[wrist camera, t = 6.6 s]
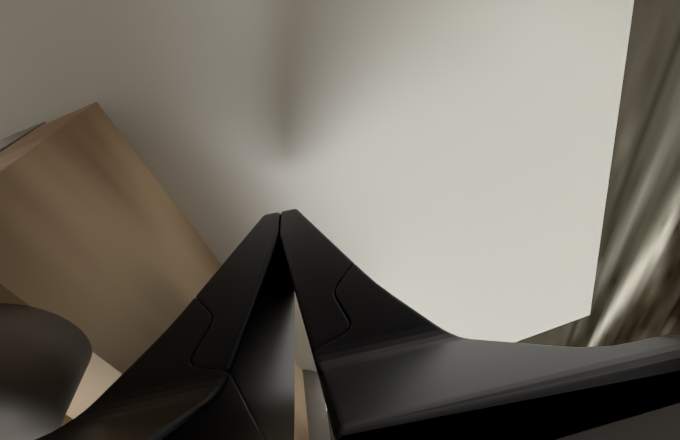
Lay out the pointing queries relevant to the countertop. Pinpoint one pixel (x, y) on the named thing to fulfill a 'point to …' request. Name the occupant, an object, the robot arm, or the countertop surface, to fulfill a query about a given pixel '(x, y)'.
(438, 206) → the white flat posted base
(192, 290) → the gate
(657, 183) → the countertop surface
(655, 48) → the countertop surface
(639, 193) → the countertop surface
